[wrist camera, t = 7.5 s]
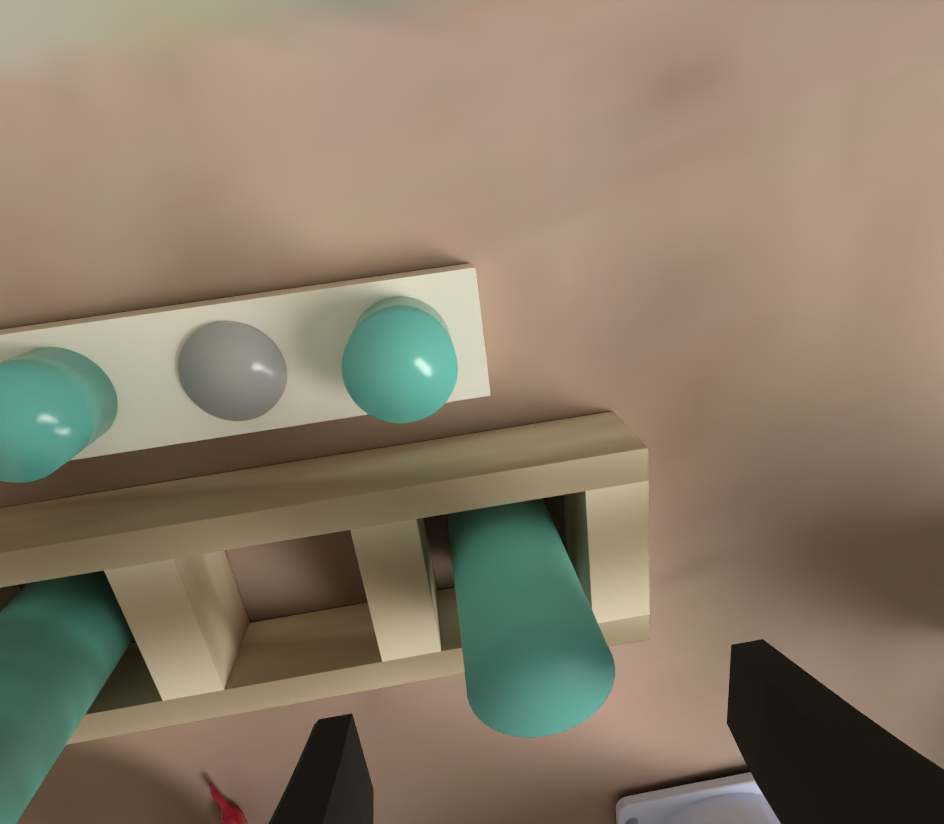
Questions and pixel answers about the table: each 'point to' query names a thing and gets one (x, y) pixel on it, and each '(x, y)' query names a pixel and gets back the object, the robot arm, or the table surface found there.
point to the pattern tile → (239, 367)
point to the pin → (525, 623)
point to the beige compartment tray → (293, 637)
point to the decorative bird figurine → (227, 809)
